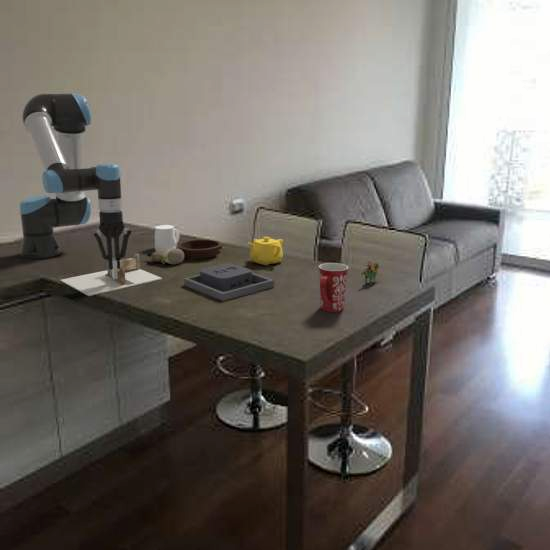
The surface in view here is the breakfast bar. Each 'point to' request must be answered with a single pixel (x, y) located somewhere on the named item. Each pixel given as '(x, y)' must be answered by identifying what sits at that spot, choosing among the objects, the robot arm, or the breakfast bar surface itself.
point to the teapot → (266, 250)
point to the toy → (168, 256)
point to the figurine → (370, 272)
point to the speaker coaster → (261, 285)
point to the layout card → (108, 281)
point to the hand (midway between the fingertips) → (115, 277)
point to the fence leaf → (119, 275)
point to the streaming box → (226, 277)
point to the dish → (200, 248)
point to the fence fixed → (128, 263)
